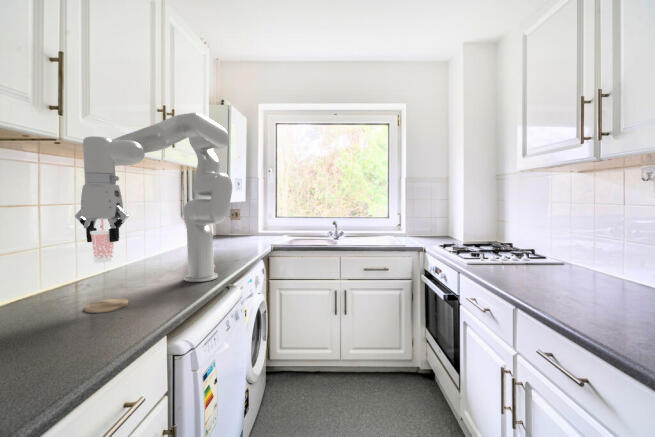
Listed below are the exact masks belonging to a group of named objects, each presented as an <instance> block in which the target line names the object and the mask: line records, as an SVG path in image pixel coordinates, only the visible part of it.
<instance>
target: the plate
mask: <svg viewBox="0 0 655 437" xmlns="http://www.w3.org/2000/svg"><path fill="white" fill-rule="evenodd" d="M128 305H129V300H128V299H126V298H110V299H108V298H107V299H101V300H98V301H95V302H92V303H89V304H86V305H85V306H84V312H86V313H89V314H101V313H109V312H114V311H118V310H121V309H124V308H126V307H127V306H128Z"/></svg>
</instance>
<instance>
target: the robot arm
mask: <svg viewBox="0 0 655 437" xmlns="http://www.w3.org/2000/svg"><path fill="white" fill-rule="evenodd" d="M186 139H188V142H189V144H190V146H191V148H192V149H193V151H194V153H195V155H196V157H197V164H196V165H197V166H196V169H195V175H194V179H193V184H192V190H193V193H194V194H195V195H196V196H198V197H201V198H196V199H192V200H189V201H188V202H186V203H185V205H184V207H183V210H182V211H183V212H182V214H183V218H184V221H185V226H186V227H185V229H186V239H187V241H186V244H187V267H188V268H187V270H188V272H187V273H188V274H187V275H185V276H184V277H183V279H184V281H185V282H189V283H200V282H201V283H203V282H209V281H213V280H215V279H218V277H219V274H218V273H217V272H215V271H214V269H216V265H215V264H214V241H213V240H214V236H213V235H214V234H213V230H212V228H211V225H218V224H221V223H224V221H225V220H226V218H227V217H228V214H229V211H230V210H229V208H230V205H231V201H232V200H231V199H232V195H233V194H232V193H233V182H232V179H231V178H230V175H228V174H227V173H224V172H220V166H221V164H220V159H219V157H218V155H217V154H216V153H215V151H214V150H220V149H224V148H226V147H227V146H228V144H229V142H230V136H229V133H228V131H227V130H226V128H225V127H223V126H222V125H220V124H219V123H217V122H215V121H214V120H212V119H211V118H209V117H207V116H205V115H204V114H201V113H198V112H190V113H189V112H188V113H182V114H177V115H174V116H172V117H169V118H167V119H164V120H162V121H159V122H156V123H154V124H152V125H149V126H146V127H143V128H141V129H138V130H134V131H131V132H128V133H126V134H124V135H121V136H118V137H116V138H109V137H104V136H95V135H94V136H93V135H92V136H90V135H89V136H87V137H84V138H83V140H82V151H83V169H84V170H83V171H84V184H83V185H82V189H81V195H80V209H79V211H77V212H76V213H75V215H74V217H75V219H76V220H77V221H79V223H80V224H81V225H82V226H83V228H84V230H85V231H86V232H85V234H86V236H85V237H86V242H87V243H92V237H91V234H90V231H97V228H96V227H95V226H96V223H97V220H101V219H103V220H107V221H108V223H109V226H110V228H109V229H108V230H109V239H110V242H114V243H116V242H119V241H120V228H121V227H122V225H123V224H124V223H125V221H126V220H127V219H128V218H129V217H130V215H129V213H127V212H126V211H125V210H124V203H123V198H122V192H121V188H120V186H119V185H118V184H116V183H117V181H119V180H120V177H119V176H118V175H117V176H116V167H119V166H133V165H137V164H139V163H140V162H142V161H143V160H144V158H145V154H148V153H153V152H159V151H161V150H162V151H163V150H165V149H168V148H169V147H171V146H174V145H175V144H177V143H179V142H181V141H183V140H186ZM208 198H209V199H208Z"/></svg>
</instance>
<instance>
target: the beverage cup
mask: <svg viewBox="0 0 655 437" xmlns="http://www.w3.org/2000/svg"><path fill="white" fill-rule="evenodd" d="M100 223H101V224H100V225H101V226H100V227H101V229H99V230H96V231H90V234H91V237H92V242H91V244H92V252H93V260H94V263H98V264H99V263H110V262H113V261H114V247H115V246H114V243H115V242H110V239H109V229H104V219H100Z"/></svg>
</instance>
